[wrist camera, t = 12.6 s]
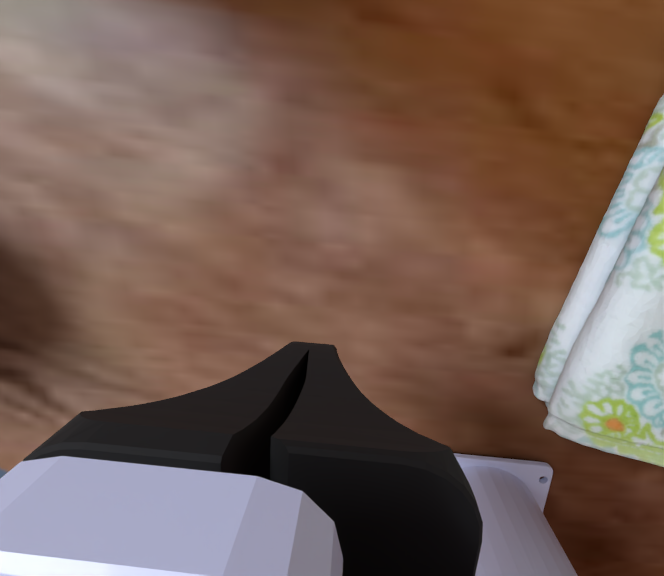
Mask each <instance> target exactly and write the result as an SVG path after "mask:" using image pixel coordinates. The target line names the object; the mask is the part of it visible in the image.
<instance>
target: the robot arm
mask: <svg viewBox="0 0 664 576" xmlns="http://www.w3.org/2000/svg"><path fill="white" fill-rule="evenodd" d="M543 476H544V478H542V479H539V478H540V477H543ZM552 476H553V469H552V468H551V466H550V465H549V464H548V463H545V462H538V461H527V460H517V459H507V458H497V457H487V456H476V455H466V454H456V453H453V452H452V450H451V448H450V447H448V446H445V445H443V444H441V443H438V442H436V441H434V440H432V439H429V438H427V437H425V436H422V435H420V434H418V433H416V432H414V431H412V430H410V429H409V428H407V427H405V426H403V425H402V424H400V423H398V422H397V421H395V420H394V419H392V418H391V417H389V416H388V415H386V414H385V413H384V412H382V411H381V410H380V409H379V408H377V407H376V406H375V405H374V404H372V403H371V402H370V401H369V400H368V399H367V398H366V397H365V396H364V395H363V394H362V393H361V392H360V390H359V389H358V388H357V387H356V385H355V384H354V383H353V381H352V380H351V378H350V377H349V375H348V374H347V372H346V370H345V369H344V367H343V365H342V363H341V361H340V359H339V356H338V354H337V349H336V348H335V346H334V345H328V344H317V343H305V342H291V343H289V344H288V345H286V346H285V347H283V348H282V349H280V350H279V351H277V352H276V353H274V354H273V355H271V356H270V357H268V358H267V359H265V360H263V361H262V362H260V363H258V364H257V365H255V366H253V367H251V368H249V369H248V370H246V371H244V372H242V373H240V374H238V375H236V376H234V377H232V378H230V379H228V380H225V381H223V382H220V383H218V384H215V385H213V386H210V387H207V388H204V389H201V390H197V391H194V392H191V393H188V394H185V395H181V396H178V397H174V398H169V399H165V400H161V401H156V402H151V403H146V404H140V405H134V406H128V407H120V408H111V409H103V410H95V411H84V412H81V413H79V414H78V415H77V416H76V417H75V418H73V419H72V420H71V421H70V422H68V423H67V424H66V425H65V426H64V427H62V428H61V429H60V430H59V431H58V432H56V433H55V434H54V435H53V436H51V437H50V438H49V439H48V440H47V441H45V442H44V443H43V444H42V445H41V446H39V447H38V448H37V449H36V450H34V451H33V452H32V453H31V454H30V455H28V456H27V457H26V458H25V459H24V460H23V461H22V462H20V463H19V464H18V465H16V466H15V467H14V468H13V469H12V470H10V471H9V472H8V473H7V474H6V475H4V476H3V477H2V478H1V479H0V576H578V575H577V573H576V572H575V570H574V568H573V566H572V564H571V563H570V561H569V559H568V557H567V555H566V554H565V552H564V550H563V548H562V547H561V545H560V543H559V541H558V539H557V538H556V536H555V534H554V532H553V530H552V529H551V527H550V525H549V523H548V522H547V520H546V518H545V516H544V514H543V510H544V506H545V503H546V499H547V495H548V491H549V487H550V483H551V480H552Z"/></svg>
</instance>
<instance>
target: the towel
mask: <svg viewBox="0 0 664 576" xmlns="http://www.w3.org/2000/svg"><path fill="white" fill-rule="evenodd" d="M533 392H534V395H535V396H536V397H537V398H538V399H539V400H542V401H545V404H546V406H547V408H548V416H547V417H546V419H545V420H544V423H543V426H544V428H545V429H548V430H552V431H554V432H555V433H556V434H558V435H559V436H561V437H563V438H566V439H569V440H571V441H574V442H576V443H579V444H582V445H585V446H588V447H592V448H596V449H599V450H601V451H604V452H607V453H612V454H617V455H620V456H623V457H627V458H631V459H636V460H639V461H643V462H647V463H651V464H654V465H658V466H661V467H664V95H663V96H662V97H661V98H660V100H659V102H658V104H657V105H656V107H655V109H654V111H653V113H652V116H651V118H650V119H649V121H648V124H647V126H646V128H645V131H644V133H643V136H642V138H641V140H640V142H639V144H638V146H637V148H636V150H635V152H634V154H633V157H632V158H631V160H630V161H629V164H628V166H627V169H626V171H625V173H624V176H623V178H622V180H621V182H620V184H619V186H618V188H617V190H616V192H615V194H614V197H613V198H612V200H611V203H610V205H609V208H608V210H607V212H606V214H605V215H604V217H603V220H602V222H601V224H600V226H599V228H598V231H597V233H596V235H595V237H594V240H593V242H592V244H591V246H590V248H589V251H588V253H587V255H586V257H585V260H584V262H583V264H582V266H581V267H580V270H579V272H578V275H577V277H576V279H575V281H574V283H573V285H572V287H571V290H570V292H569V294H568V296H567V298H566V300H565V302H564V304H563V307H562V309H561V311H560V313H559V315H558V317H557V319H556V321H555V323H554V325H553V327H552V329H551V331H550V334H549V337H548V340H547V342H546V344H545V347H544V349H543V351H542V354H541V356H540V359H539V362H538V366H537V369H536V372H535V382H534V385H533Z"/></svg>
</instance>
